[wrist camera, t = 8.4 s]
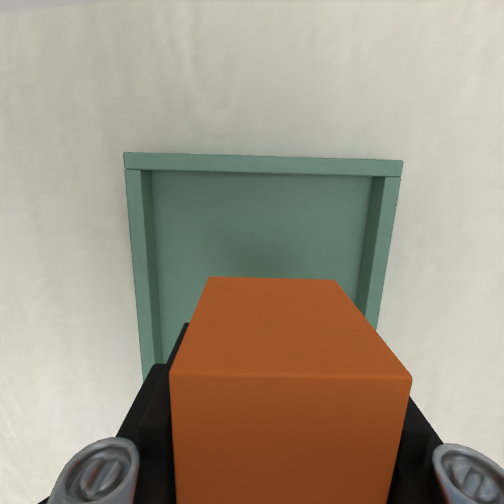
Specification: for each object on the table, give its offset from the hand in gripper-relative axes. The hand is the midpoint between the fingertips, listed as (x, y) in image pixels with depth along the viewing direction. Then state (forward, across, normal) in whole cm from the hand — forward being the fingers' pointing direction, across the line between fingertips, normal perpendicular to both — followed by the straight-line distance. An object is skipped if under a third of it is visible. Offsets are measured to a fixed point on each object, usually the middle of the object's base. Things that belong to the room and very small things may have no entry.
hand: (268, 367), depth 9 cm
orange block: (0, 0, 0) cm, 1 cm away
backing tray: (+9, 0, +3) cm, 9 cm away
